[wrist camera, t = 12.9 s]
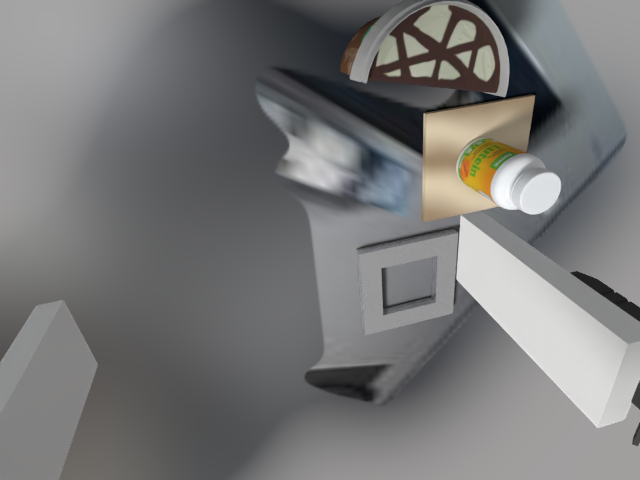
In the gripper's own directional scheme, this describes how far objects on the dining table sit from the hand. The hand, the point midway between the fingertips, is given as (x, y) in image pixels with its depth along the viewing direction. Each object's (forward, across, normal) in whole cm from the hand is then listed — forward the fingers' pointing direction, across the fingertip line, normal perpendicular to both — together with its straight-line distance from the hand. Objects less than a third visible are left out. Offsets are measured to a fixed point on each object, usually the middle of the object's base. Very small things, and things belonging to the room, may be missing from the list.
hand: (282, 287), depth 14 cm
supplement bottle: (+26, +24, -8) cm, 36 cm away
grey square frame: (+27, +16, -22) cm, 38 cm away
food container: (+27, +15, +5) cm, 31 cm away
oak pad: (+27, +24, -8) cm, 37 cm away
